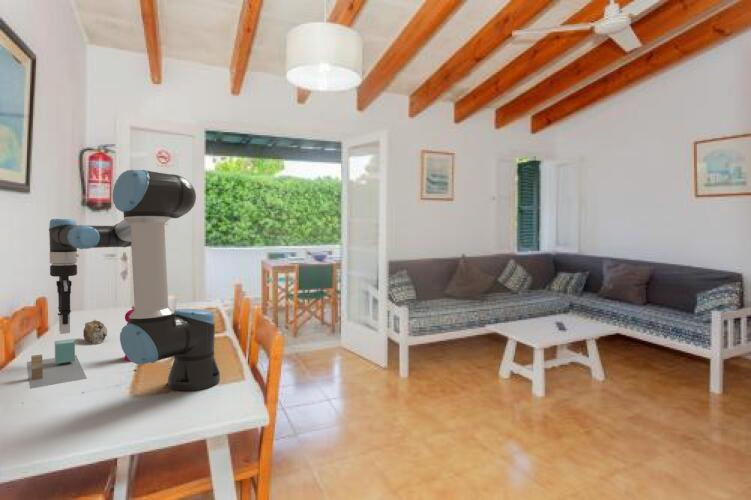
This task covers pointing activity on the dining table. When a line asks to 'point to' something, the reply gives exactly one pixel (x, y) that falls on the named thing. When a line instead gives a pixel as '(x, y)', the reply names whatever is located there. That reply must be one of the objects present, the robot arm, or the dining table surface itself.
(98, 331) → the rock
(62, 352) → the mint green foam cube
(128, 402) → the dining table surface
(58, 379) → the stand
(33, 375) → the post beech
